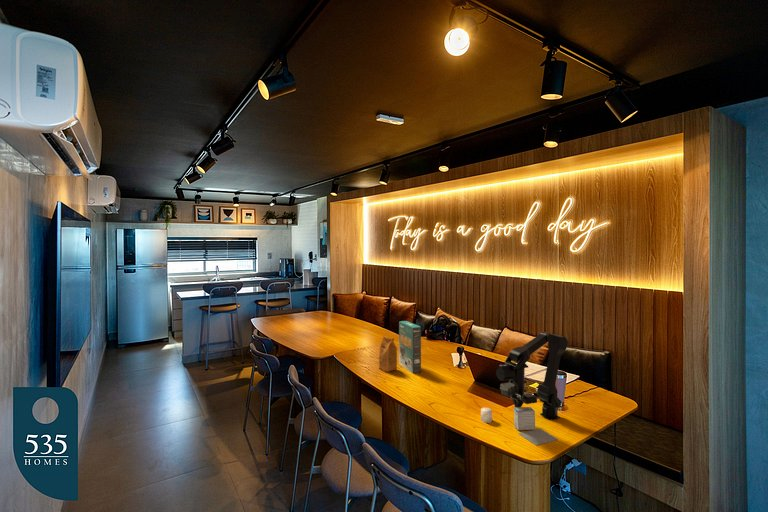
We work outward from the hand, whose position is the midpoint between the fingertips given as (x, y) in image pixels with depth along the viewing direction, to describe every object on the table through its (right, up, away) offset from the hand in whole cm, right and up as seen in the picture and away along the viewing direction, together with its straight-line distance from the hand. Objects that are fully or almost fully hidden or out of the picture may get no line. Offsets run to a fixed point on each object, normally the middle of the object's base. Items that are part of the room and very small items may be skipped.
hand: (517, 411), depth 169 cm
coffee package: (-59, -5, +78) cm, 98 cm away
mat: (+5, -6, -12) cm, 14 cm away
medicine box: (+2, -6, -4) cm, 8 cm away
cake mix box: (-44, -5, +81) cm, 92 cm away
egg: (-13, -6, +4) cm, 15 cm away
